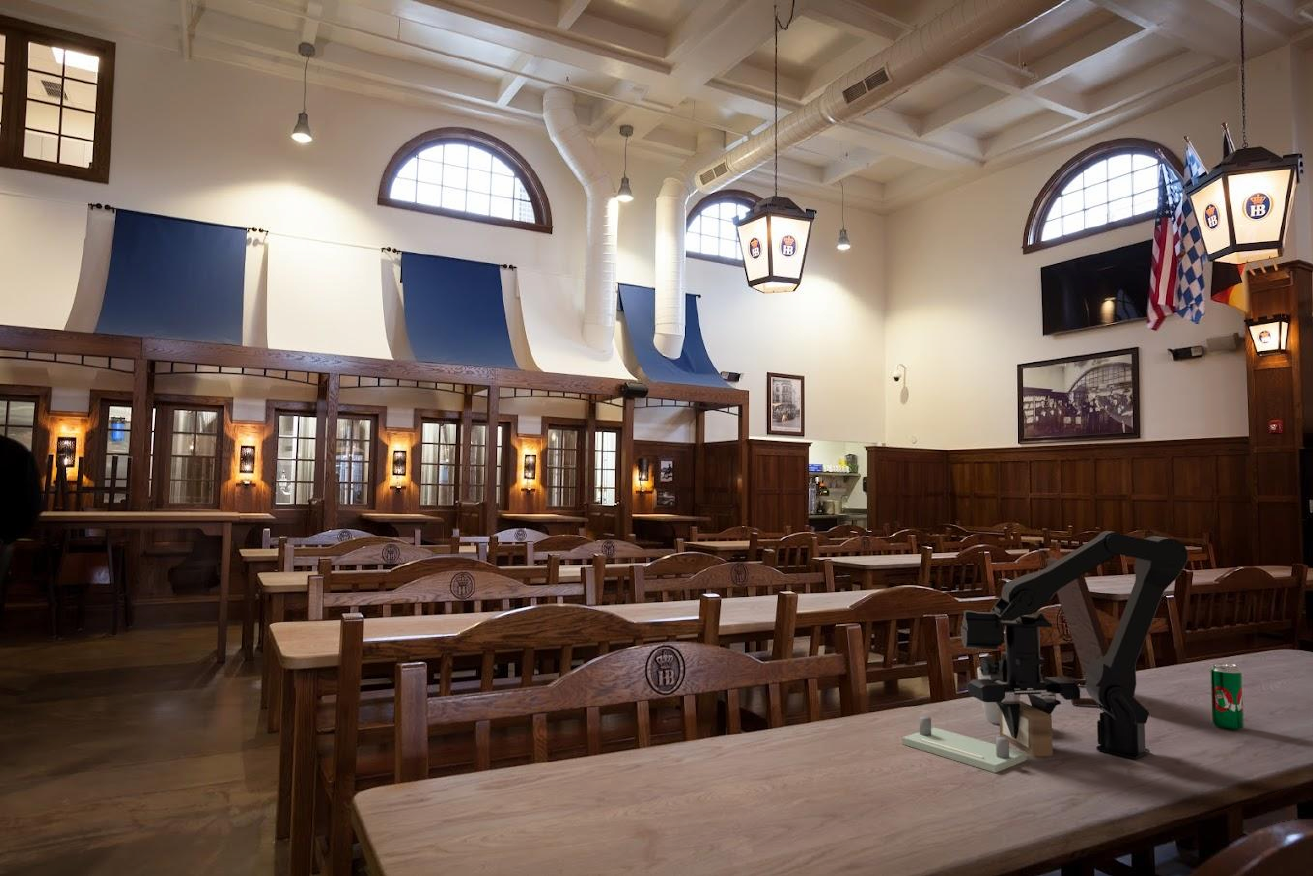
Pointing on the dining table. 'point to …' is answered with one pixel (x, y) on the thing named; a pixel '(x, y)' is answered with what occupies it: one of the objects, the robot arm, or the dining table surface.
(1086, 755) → the dining table surface
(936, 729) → the ledge board
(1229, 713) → the soda can
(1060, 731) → the dining table surface
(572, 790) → the dining table surface
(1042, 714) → the brown wooden block
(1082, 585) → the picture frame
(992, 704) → the cup
